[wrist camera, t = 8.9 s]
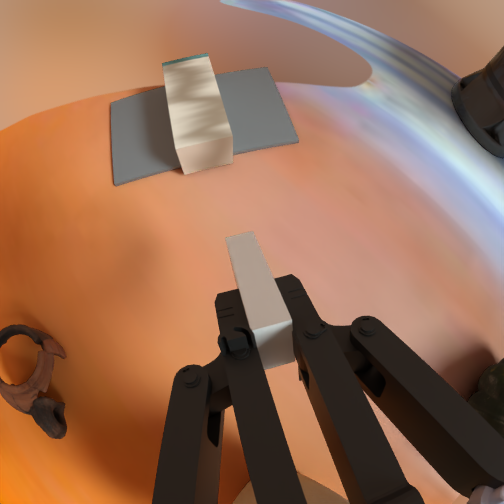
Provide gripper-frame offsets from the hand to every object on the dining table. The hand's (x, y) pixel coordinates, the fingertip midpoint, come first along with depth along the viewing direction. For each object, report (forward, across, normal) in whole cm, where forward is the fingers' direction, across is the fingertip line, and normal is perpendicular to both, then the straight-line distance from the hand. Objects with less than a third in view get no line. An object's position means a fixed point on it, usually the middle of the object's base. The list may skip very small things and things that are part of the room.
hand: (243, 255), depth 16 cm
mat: (+21, +1, -5) cm, 22 cm away
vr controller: (+4, +23, +12) cm, 27 cm away
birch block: (+14, 0, -2) cm, 14 cm away
